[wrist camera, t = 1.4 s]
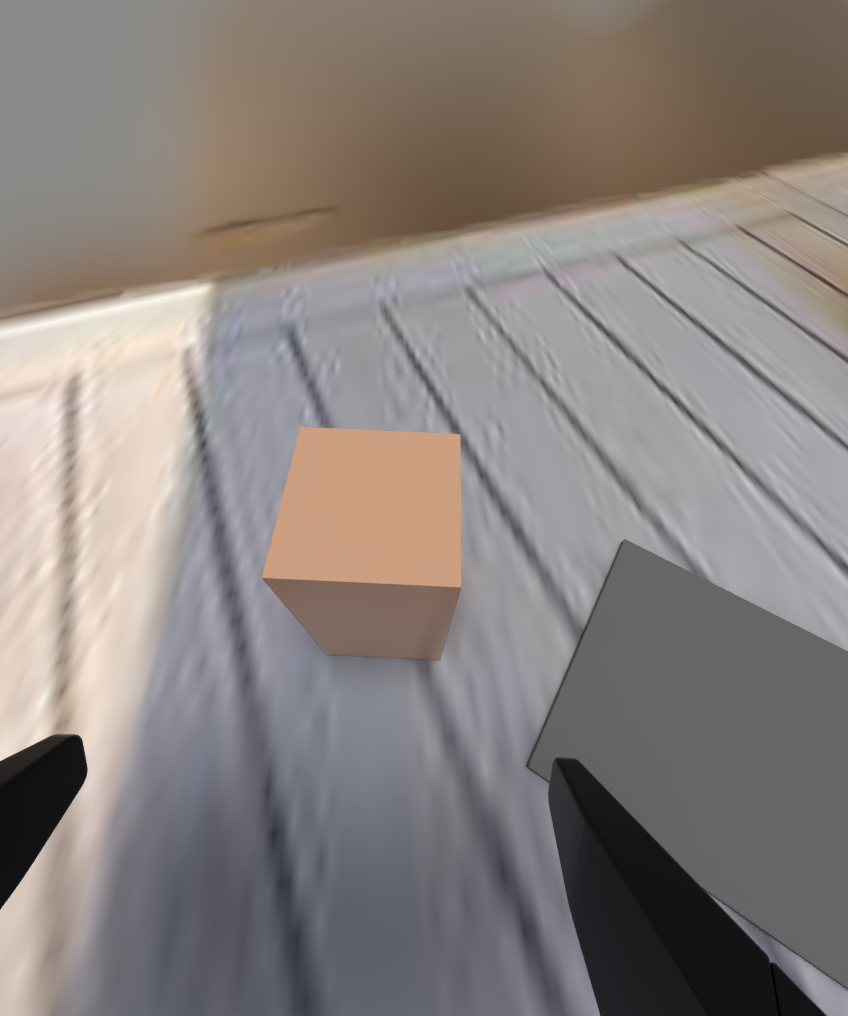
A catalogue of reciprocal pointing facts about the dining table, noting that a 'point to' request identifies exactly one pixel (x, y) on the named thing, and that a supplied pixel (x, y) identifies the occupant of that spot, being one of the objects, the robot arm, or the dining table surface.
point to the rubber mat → (718, 745)
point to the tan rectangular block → (370, 541)
